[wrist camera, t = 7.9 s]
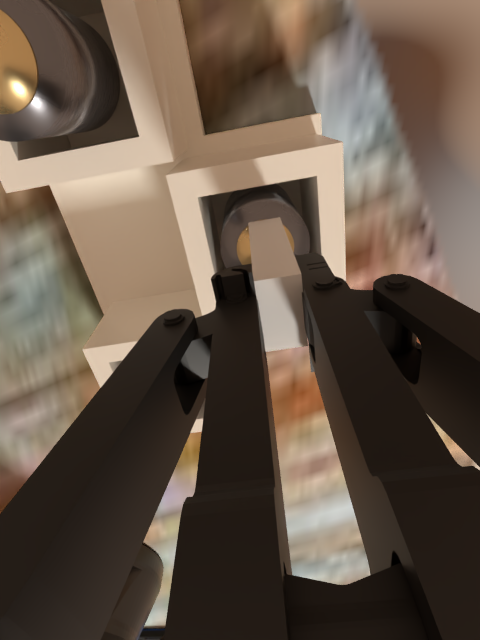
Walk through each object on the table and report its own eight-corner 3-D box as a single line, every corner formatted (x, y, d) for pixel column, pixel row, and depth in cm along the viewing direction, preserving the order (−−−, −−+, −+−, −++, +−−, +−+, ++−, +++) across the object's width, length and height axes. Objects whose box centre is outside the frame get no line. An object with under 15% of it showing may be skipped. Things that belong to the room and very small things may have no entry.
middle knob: (230, 254, 24) (229, 295, 19) (217, 186, 22) (211, 211, 16) (296, 243, 24) (313, 282, 18) (289, 173, 21) (307, 194, 16)
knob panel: (140, 385, 32) (117, 452, 26) (-21, -12, 18) (-153, -73, 12) (329, 359, 31) (353, 422, 24) (305, -90, 17) (345, -204, 11)
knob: (45, 139, 17) (-39, 153, 12) (-1, 25, 15) (-130, -21, 10) (133, 122, 17) (85, 128, 12) (99, 2, 15) (21, -58, 9)
